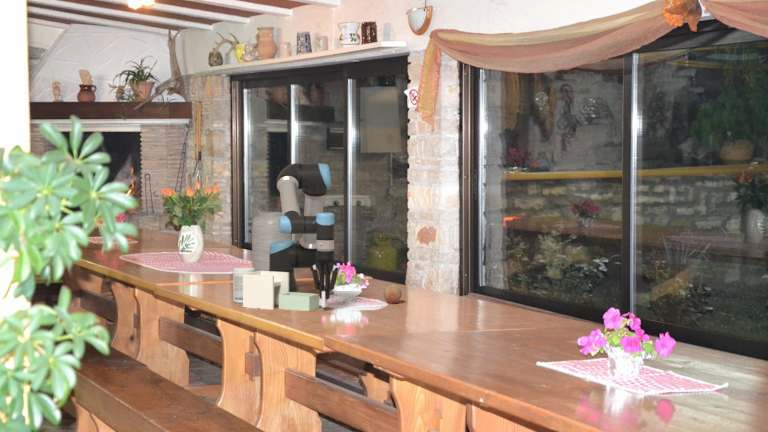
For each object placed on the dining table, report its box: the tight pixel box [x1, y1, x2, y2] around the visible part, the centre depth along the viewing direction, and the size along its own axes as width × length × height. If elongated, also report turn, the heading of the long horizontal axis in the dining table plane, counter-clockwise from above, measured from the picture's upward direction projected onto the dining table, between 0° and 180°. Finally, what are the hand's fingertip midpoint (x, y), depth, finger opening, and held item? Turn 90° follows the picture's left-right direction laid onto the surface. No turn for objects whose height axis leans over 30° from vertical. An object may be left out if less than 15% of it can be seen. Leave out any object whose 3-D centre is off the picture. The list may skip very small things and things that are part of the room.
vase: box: [251, 211, 292, 272], centre depth 547 cm, size 20×20×34 cm
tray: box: [278, 291, 320, 312], centre depth 440 cm, size 10×14×6 cm
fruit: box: [383, 284, 403, 305], centre depth 459 cm, size 8×8×8 cm
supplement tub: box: [232, 267, 255, 304], centre depth 456 cm, size 10×10×15 cm
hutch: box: [242, 271, 289, 310], centre depth 446 cm, size 15×14×14 cm
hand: (324, 306), depth 436 cm, fingers closed
